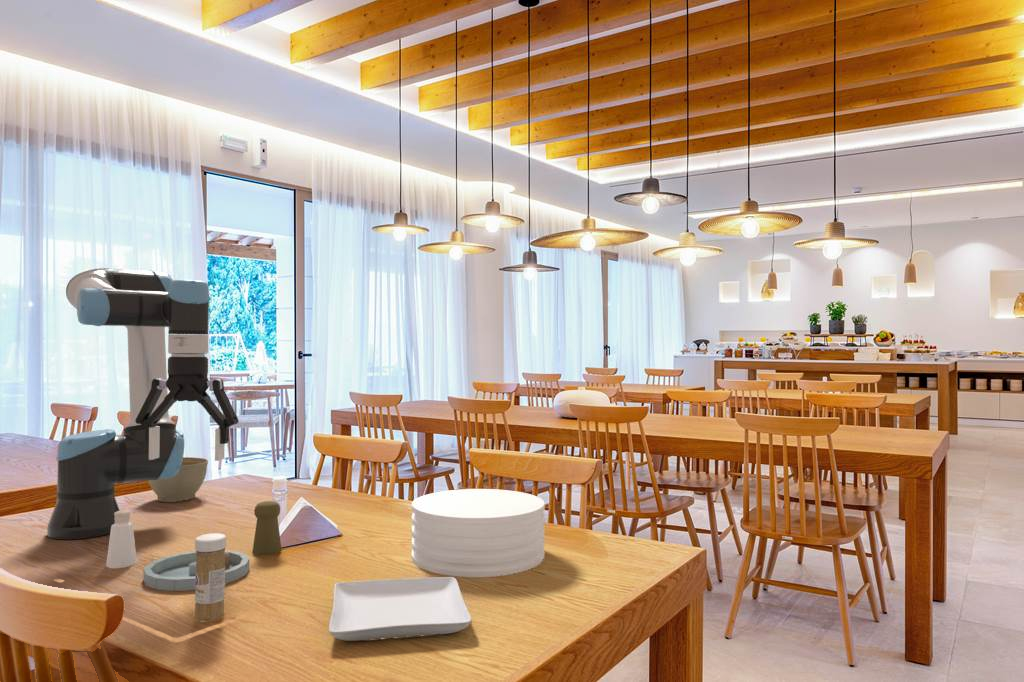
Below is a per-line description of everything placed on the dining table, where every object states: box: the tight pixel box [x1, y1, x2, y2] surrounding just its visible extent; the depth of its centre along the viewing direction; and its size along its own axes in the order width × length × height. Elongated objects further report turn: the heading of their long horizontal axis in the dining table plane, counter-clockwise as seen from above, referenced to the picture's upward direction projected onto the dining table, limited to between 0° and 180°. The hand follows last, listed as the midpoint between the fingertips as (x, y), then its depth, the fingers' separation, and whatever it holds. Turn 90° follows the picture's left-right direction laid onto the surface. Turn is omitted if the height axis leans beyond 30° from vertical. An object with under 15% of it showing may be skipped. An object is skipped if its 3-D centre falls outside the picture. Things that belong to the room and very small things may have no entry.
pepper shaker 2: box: [251, 500, 282, 556], centre depth 148 cm, size 6×6×11 cm
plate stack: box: [410, 488, 546, 578], centre depth 148 cm, size 28×28×12 cm
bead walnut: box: [225, 552, 230, 570], centre depth 132 cm, size 4×4×4 cm
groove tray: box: [143, 549, 250, 592], centre depth 133 cm, size 18×18×3 cm
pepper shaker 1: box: [105, 509, 138, 569], centre depth 139 cm, size 5×5×11 cm
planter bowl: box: [148, 456, 209, 503], centre depth 201 cm, size 16×16×11 cm
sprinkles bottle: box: [193, 532, 227, 623], centre depth 112 cm, size 5×5×14 cm
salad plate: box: [328, 576, 473, 642], centre depth 114 cm, size 21×21×3 cm
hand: (186, 459), depth 144 cm, fingers open, 13 cm apart
